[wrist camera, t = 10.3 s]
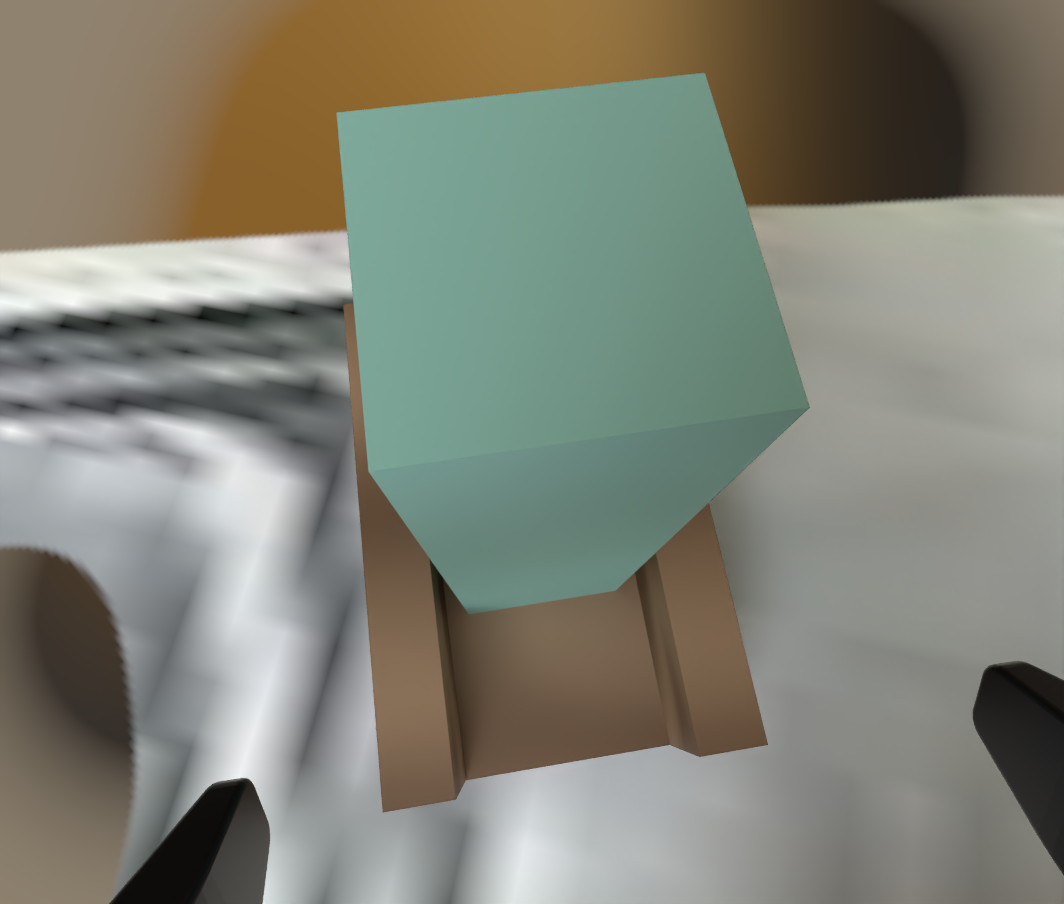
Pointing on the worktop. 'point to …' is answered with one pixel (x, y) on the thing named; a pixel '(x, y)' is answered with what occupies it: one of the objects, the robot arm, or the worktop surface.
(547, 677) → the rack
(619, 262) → the block
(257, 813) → the robot arm
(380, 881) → the worktop surface
